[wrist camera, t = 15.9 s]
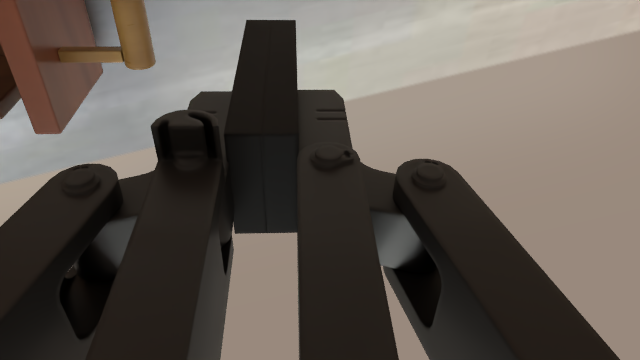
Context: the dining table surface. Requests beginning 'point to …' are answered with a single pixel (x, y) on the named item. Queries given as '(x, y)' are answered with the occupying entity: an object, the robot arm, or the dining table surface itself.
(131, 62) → the drawer
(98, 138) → the dining table surface
